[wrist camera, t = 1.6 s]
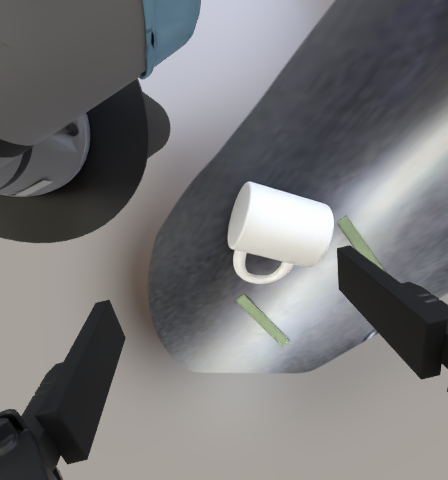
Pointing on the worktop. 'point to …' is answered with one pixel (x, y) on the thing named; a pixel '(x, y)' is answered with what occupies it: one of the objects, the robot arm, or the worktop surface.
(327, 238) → the mug
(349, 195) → the worktop surface
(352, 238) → the strips
